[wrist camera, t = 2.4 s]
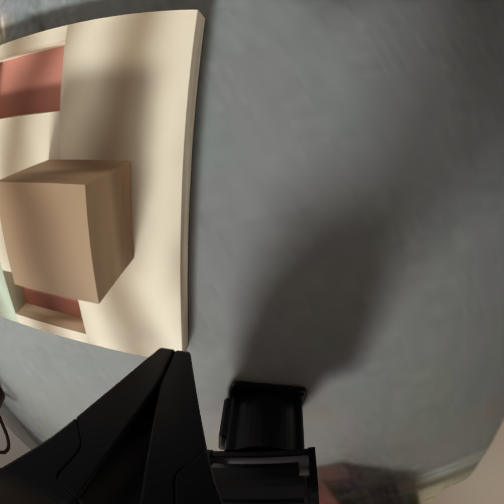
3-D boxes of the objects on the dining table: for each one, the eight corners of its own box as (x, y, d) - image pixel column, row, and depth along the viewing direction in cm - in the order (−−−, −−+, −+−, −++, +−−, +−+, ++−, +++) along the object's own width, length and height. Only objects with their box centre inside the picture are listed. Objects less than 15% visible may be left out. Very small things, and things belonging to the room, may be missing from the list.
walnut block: (131, 161, 16) (85, 184, 12) (134, 258, 19) (99, 304, 15) (48, 159, 16) (-5, 182, 12) (57, 246, 19) (14, 284, 15)
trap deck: (205, 18, 14) (188, -2, 11) (188, 345, 25) (176, 382, 21) (-53, 73, 14) (-83, 78, 11) (-25, 292, 25) (-46, 312, 21)
